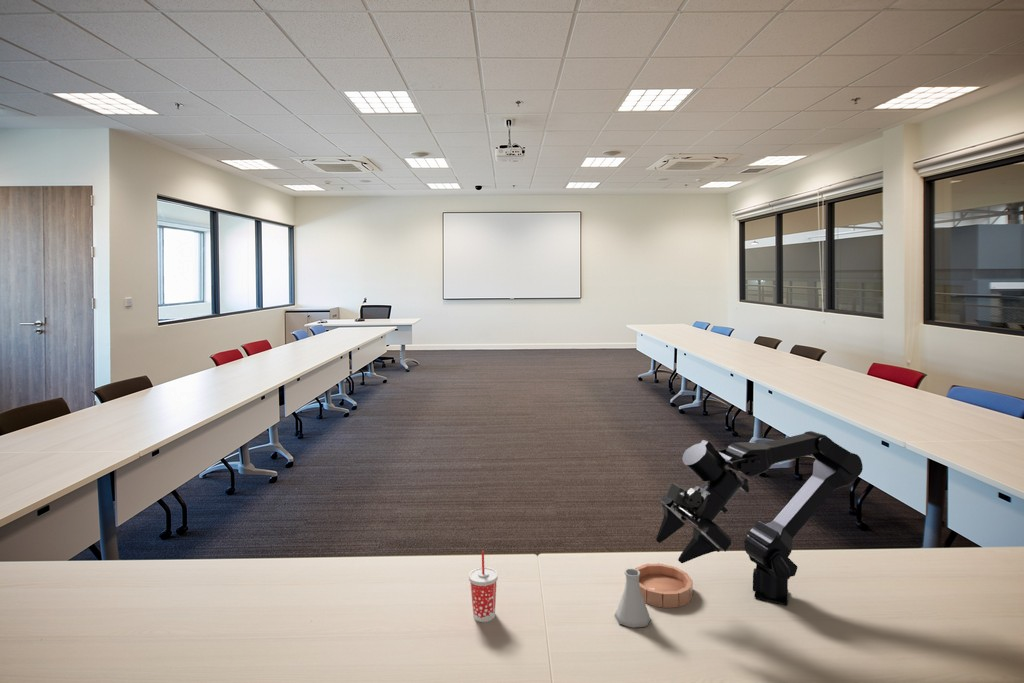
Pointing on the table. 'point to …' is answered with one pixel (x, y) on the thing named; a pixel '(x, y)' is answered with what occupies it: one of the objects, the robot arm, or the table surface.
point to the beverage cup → (483, 592)
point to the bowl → (665, 585)
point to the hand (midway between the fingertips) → (668, 551)
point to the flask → (632, 602)
